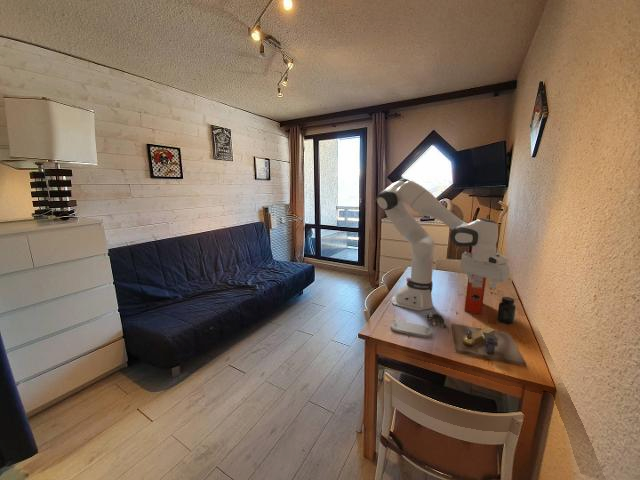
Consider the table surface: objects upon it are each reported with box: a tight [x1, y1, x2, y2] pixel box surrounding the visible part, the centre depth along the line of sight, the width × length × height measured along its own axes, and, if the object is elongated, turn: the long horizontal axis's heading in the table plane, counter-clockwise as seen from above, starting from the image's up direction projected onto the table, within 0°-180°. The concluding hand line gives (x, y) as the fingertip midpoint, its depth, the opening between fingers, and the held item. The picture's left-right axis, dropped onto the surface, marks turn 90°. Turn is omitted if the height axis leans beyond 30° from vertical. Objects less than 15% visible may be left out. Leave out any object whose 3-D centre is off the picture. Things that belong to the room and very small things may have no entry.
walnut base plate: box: [451, 323, 526, 367], centre depth 112 cm, size 23×22×2 cm
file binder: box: [464, 246, 487, 315], centre depth 144 cm, size 8×17×32 cm, turn 149°
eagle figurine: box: [424, 311, 448, 329], centre depth 128 cm, size 8×7×9 cm
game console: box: [390, 320, 433, 338], centre depth 123 cm, size 18×2×8 cm
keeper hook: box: [482, 332, 498, 355], centre depth 106 cm, size 4×7×5 cm, turn 158°
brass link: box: [463, 326, 496, 346], centre depth 113 cm, size 18×4×5 cm, turn 118°
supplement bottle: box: [496, 296, 517, 325], centre depth 130 cm, size 7×7×12 cm
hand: (481, 285), depth 119 cm, fingers open, 8 cm apart
